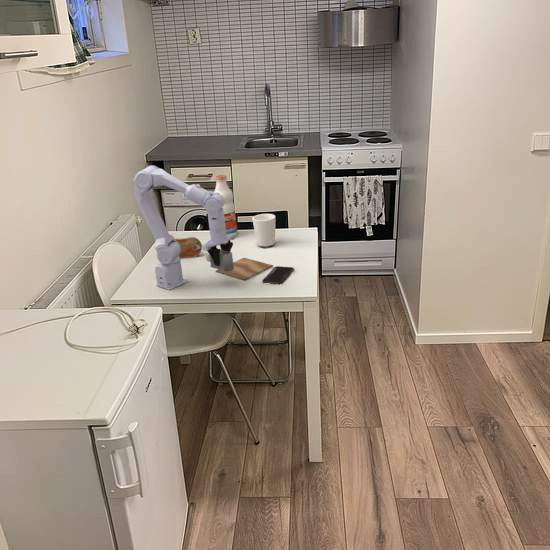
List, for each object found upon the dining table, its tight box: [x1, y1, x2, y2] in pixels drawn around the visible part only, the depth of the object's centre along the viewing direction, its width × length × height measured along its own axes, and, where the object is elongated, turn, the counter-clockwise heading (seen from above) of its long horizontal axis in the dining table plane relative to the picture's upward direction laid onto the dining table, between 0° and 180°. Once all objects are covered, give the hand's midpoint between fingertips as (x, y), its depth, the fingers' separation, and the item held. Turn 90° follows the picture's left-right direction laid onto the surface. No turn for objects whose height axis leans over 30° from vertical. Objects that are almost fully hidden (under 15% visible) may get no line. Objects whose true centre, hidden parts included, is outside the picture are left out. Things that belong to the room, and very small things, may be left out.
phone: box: [261, 265, 295, 286], centre depth 213 cm, size 8×1×15 cm
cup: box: [252, 213, 277, 249], centre depth 243 cm, size 10×10×13 cm
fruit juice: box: [213, 174, 238, 238], centre depth 255 cm, size 9×9×28 cm
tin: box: [174, 236, 203, 260], centre depth 238 cm, size 15×3×8 cm, turn 92°
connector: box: [205, 250, 234, 271], centre depth 207 cm, size 4×12×6 cm, turn 49°
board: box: [215, 257, 274, 281], centre depth 222 cm, size 16×16×1 cm
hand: (221, 263), depth 207 cm, fingers closed on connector, 4 cm apart
